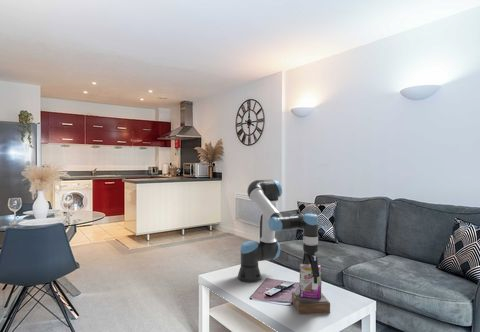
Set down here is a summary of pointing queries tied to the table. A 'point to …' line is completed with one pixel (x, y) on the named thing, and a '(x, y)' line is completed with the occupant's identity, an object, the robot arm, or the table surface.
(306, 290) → the candy bar box
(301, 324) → the table surface
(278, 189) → the robot arm
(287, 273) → the table surface
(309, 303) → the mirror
